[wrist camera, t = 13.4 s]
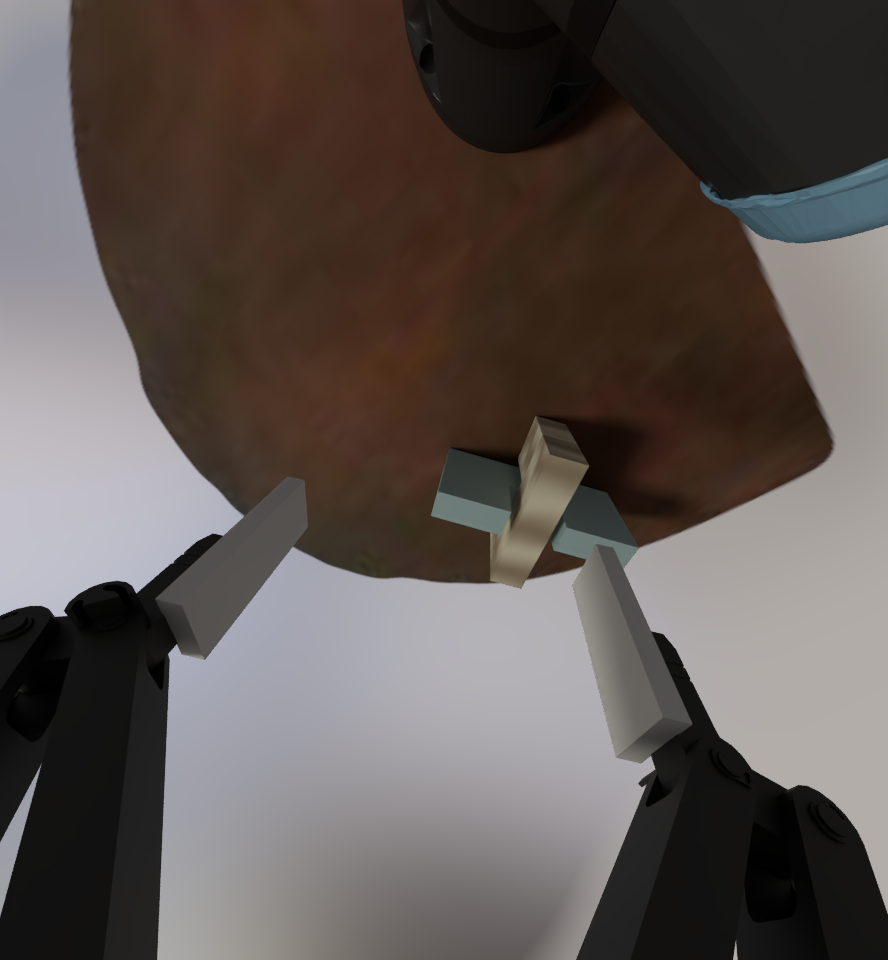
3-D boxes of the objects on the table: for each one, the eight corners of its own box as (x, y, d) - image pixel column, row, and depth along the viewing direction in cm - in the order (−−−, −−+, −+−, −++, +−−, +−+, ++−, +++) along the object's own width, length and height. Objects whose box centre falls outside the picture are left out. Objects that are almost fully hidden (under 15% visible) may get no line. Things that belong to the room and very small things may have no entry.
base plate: (443, 468, 41) (431, 515, 32) (449, 447, 39) (438, 491, 31) (595, 511, 41) (622, 569, 32) (606, 492, 40) (639, 548, 31)
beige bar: (535, 415, 36) (549, 454, 27) (565, 424, 36) (589, 465, 27) (490, 524, 44) (490, 580, 36) (515, 531, 44) (520, 588, 36)
